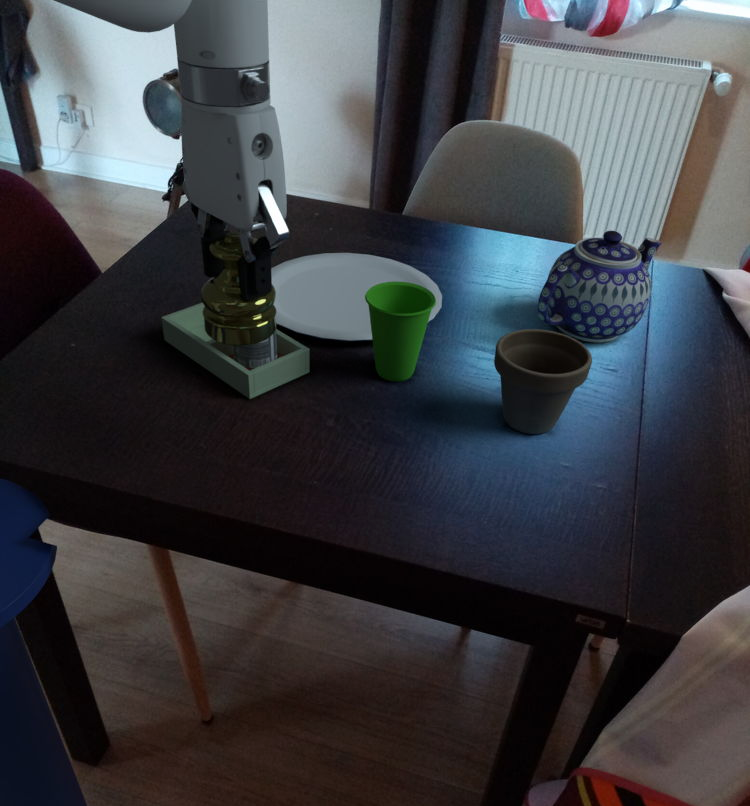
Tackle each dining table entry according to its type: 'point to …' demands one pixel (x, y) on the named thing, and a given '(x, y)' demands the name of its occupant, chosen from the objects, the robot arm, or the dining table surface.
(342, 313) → the plate
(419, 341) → the cup
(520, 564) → the dining table surface
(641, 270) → the teapot
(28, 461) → the dining table surface
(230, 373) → the tray
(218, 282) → the brass tiered cylinder
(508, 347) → the flower pot
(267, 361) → the pill bottle
